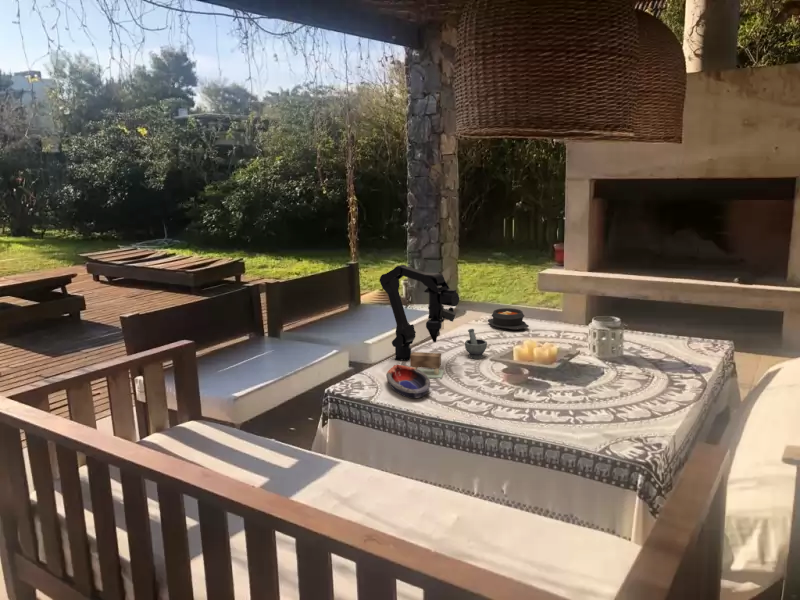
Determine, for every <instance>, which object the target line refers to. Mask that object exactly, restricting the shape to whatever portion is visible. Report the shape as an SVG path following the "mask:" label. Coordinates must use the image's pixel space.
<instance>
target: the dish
mask: <svg viewBox="0 0 800 600" xmlns="http://www.w3.org/2000/svg"><path fill="white" fill-rule="evenodd" d="M418 369H419V368H418ZM418 369H415V368H412V367H410V366H407V365H402V364H394V365H393V366H392V367H390V368H389V369H388V370H387V372H386V375H385V376H386V380H387V381H388V384H389V386H390V387H391V388H392V390H394V391H395V392H396V393H397V394H400V395H401V396H404V397H406V398H409V399H410V398H411V399H418V398H422V397H424V396H425V395H427V393H428V392H429V390H430V387H431V380H430V378H428V377H427V375H426V374H424V373H423V372H422V371H420V370H418Z"/></svg>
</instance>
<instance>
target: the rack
mask: <svg viewBox="0 0 800 600" xmlns="http://www.w3.org/2000/svg"><path fill="white" fill-rule="evenodd" d="M412 368H415V369H418V370H420V371H422V372H423V373H424V374H426V375H427V377H428V378H429V379H431V378H440V379H439V380H442V379H441V378H443V376H444V373H443V372H445V371H444V370H445V369H440V368H426V369H425V368H419V367H412ZM442 375H443V376H442Z"/></svg>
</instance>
